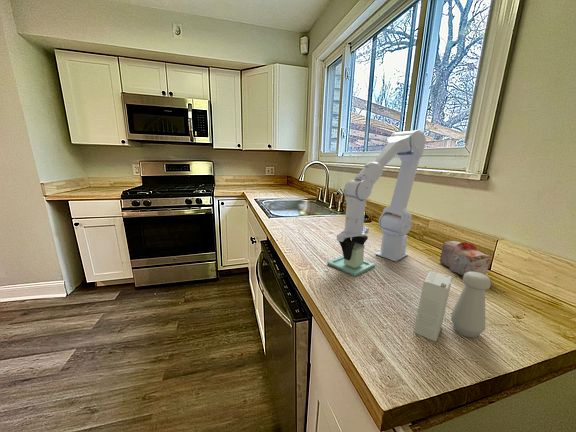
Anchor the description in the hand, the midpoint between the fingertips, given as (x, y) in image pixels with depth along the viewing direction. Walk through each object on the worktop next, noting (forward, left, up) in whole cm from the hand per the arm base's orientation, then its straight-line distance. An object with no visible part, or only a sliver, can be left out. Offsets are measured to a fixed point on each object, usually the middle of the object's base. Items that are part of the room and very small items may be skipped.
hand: (351, 257), depth 79 cm
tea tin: (0, +1, -2) cm, 2 cm away
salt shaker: (+7, +34, -3) cm, 35 cm away
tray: (0, 0, -3) cm, 3 cm away
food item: (-25, +25, -3) cm, 35 cm away
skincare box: (+13, +29, -3) cm, 32 cm away
